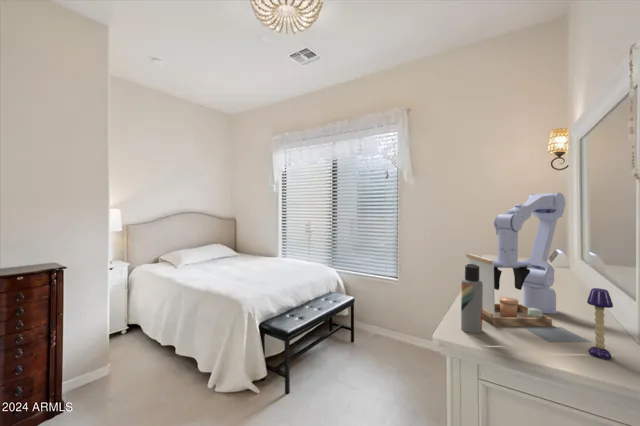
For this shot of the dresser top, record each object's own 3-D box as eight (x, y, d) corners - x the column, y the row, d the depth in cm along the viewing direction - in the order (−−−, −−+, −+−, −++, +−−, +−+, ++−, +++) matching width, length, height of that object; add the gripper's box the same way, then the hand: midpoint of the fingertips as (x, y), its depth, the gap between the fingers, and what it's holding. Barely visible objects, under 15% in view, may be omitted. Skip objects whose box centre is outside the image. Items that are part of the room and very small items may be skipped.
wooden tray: (520, 311, 102) (520, 303, 102) (551, 326, 88) (552, 318, 88) (470, 310, 102) (470, 303, 102) (494, 326, 88) (494, 318, 88)
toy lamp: (581, 350, 74) (582, 286, 73) (597, 349, 74) (598, 286, 74) (601, 360, 69) (602, 292, 69) (618, 359, 69) (619, 291, 69)
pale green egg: (535, 319, 93) (535, 307, 93) (544, 324, 90) (544, 311, 90) (524, 319, 93) (525, 307, 93) (533, 323, 90) (533, 311, 89)
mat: (560, 328, 87) (560, 327, 87) (592, 343, 77) (592, 342, 77) (522, 328, 87) (522, 326, 87) (548, 343, 77) (548, 341, 77)
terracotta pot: (510, 314, 98) (511, 297, 98) (522, 320, 93) (522, 302, 93) (495, 314, 98) (495, 296, 98) (505, 320, 93) (506, 302, 93)
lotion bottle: (479, 328, 87) (480, 263, 87) (484, 335, 82) (485, 267, 82) (459, 325, 89) (460, 262, 89) (462, 332, 84) (463, 265, 83)
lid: (469, 253, 102) (466, 253, 102) (493, 260, 88) (489, 260, 88) (470, 302, 102) (467, 303, 102) (494, 317, 88) (490, 317, 88)
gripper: (520, 247, 100) (519, 285, 100) (479, 247, 99) (479, 285, 99) (535, 250, 92) (535, 291, 93) (492, 250, 92) (491, 291, 92)
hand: (507, 289), depth 96 cm, fingers open, 7 cm apart
